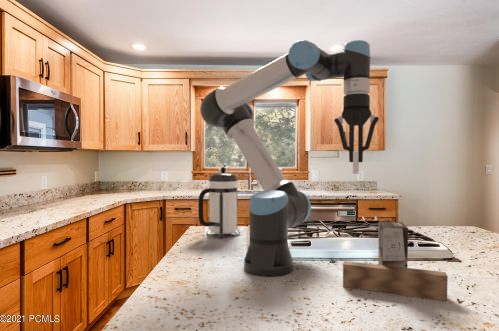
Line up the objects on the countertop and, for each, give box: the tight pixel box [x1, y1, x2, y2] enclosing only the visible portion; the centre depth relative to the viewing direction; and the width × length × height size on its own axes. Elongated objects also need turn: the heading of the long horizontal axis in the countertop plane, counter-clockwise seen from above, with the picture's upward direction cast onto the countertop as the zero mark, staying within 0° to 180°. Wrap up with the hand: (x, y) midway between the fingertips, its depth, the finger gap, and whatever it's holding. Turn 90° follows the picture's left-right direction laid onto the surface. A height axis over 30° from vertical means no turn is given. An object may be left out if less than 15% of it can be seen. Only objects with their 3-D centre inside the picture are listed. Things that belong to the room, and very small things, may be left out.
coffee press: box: [197, 166, 241, 239], centre depth 147 cm, size 17×16×30 cm
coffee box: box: [378, 221, 409, 268], centre depth 91 cm, size 9×6×16 cm
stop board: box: [342, 260, 449, 302], centre depth 85 cm, size 24×3×6 cm, turn 68°
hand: (355, 173), depth 101 cm, fingers closed
